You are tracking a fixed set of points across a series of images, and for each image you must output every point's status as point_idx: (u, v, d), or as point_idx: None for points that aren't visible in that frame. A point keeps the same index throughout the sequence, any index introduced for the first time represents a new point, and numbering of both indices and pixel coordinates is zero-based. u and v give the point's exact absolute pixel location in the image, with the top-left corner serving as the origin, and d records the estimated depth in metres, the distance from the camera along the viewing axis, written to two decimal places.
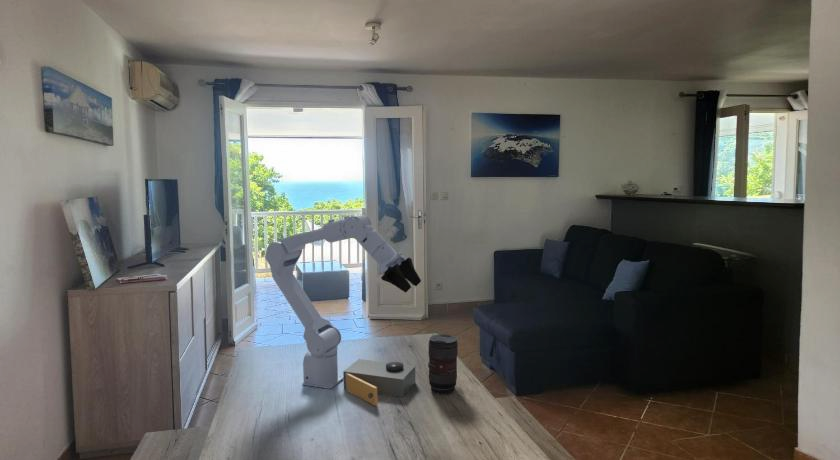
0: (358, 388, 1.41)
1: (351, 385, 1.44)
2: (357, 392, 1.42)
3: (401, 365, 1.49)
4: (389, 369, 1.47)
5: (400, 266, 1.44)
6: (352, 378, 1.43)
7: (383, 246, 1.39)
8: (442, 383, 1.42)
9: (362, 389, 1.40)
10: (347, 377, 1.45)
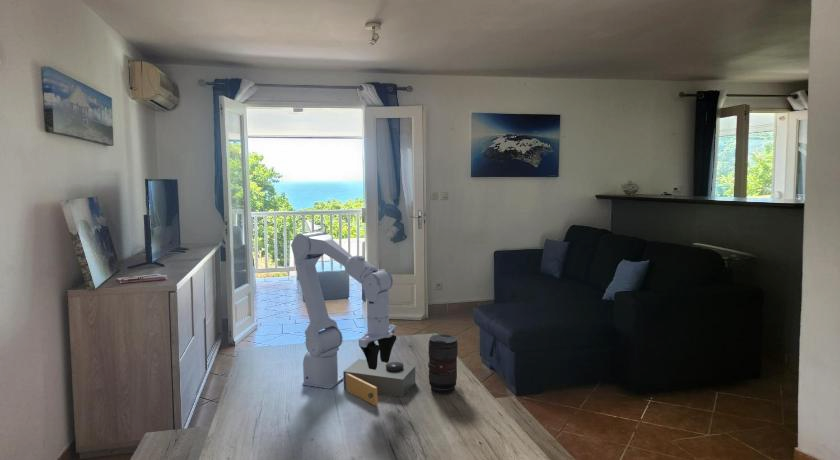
0: (358, 388, 1.41)
1: (351, 385, 1.44)
2: (357, 392, 1.42)
3: (401, 365, 1.49)
4: (389, 369, 1.47)
5: None
6: (352, 378, 1.43)
7: (381, 320, 1.36)
8: (442, 383, 1.42)
9: (362, 389, 1.40)
10: (347, 377, 1.45)
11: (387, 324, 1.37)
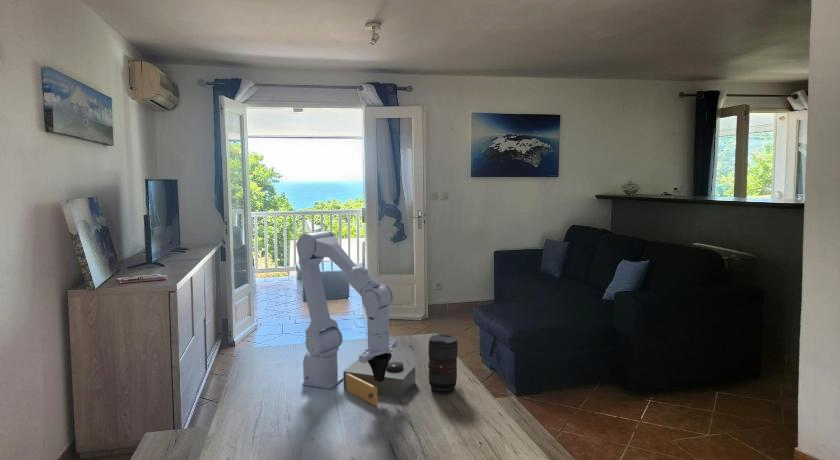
0: (358, 388, 1.41)
1: (351, 385, 1.44)
2: (357, 392, 1.42)
3: (401, 365, 1.49)
4: (389, 369, 1.47)
5: None
6: (352, 378, 1.43)
7: (381, 336, 1.36)
8: (442, 383, 1.42)
9: (362, 389, 1.40)
10: (347, 377, 1.45)
11: (387, 339, 1.38)
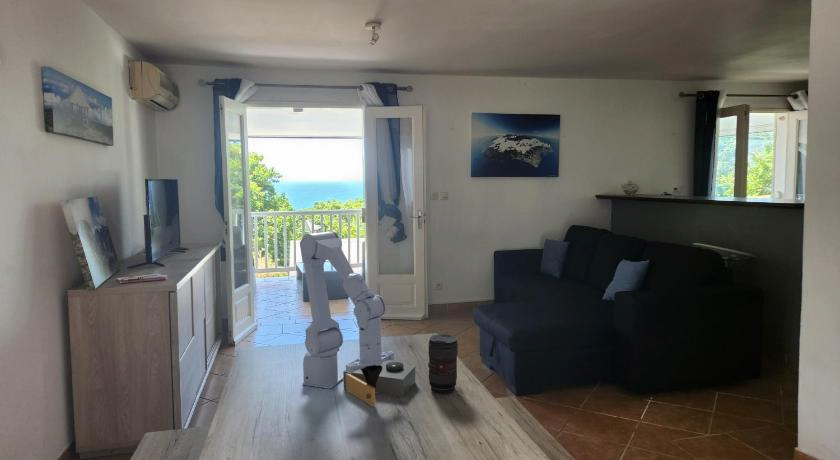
0: (357, 388, 1.41)
1: (351, 385, 1.44)
2: (356, 392, 1.42)
3: (401, 365, 1.49)
4: (389, 369, 1.47)
5: None
6: (351, 378, 1.43)
7: (370, 347, 1.34)
8: (442, 383, 1.42)
9: (361, 389, 1.40)
10: (347, 377, 1.45)
11: (378, 351, 1.35)
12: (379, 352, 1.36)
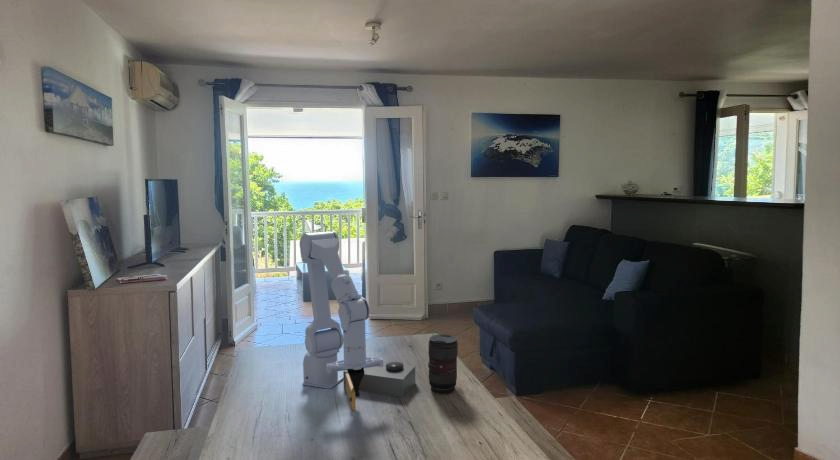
0: (348, 390, 1.40)
1: (346, 385, 1.43)
2: (348, 393, 1.41)
3: (401, 365, 1.49)
4: (389, 369, 1.47)
5: None
6: (347, 379, 1.43)
7: (349, 350, 1.32)
8: (442, 383, 1.42)
9: (349, 391, 1.39)
10: (345, 377, 1.45)
11: (358, 356, 1.32)
12: (360, 356, 1.33)
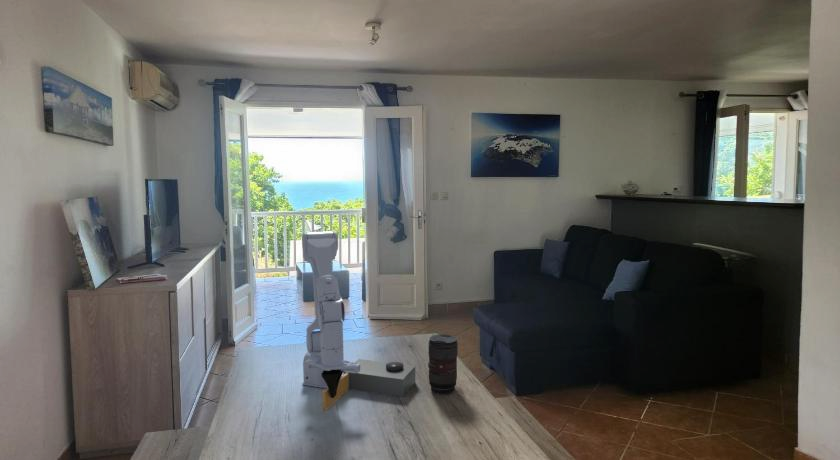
0: None
1: None
2: None
3: (401, 365, 1.49)
4: (389, 369, 1.47)
5: None
6: None
7: (322, 350, 1.33)
8: (442, 383, 1.42)
9: None
10: None
11: (329, 357, 1.32)
12: (331, 358, 1.32)
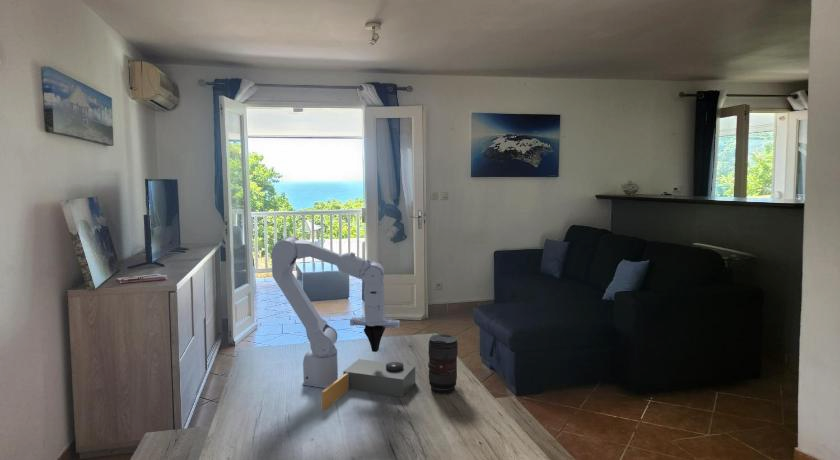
0: None
1: None
2: None
3: (401, 365, 1.49)
4: (389, 369, 1.47)
5: None
6: None
7: (366, 308, 1.48)
8: (442, 383, 1.42)
9: None
10: None
11: (372, 314, 1.47)
12: (374, 315, 1.47)
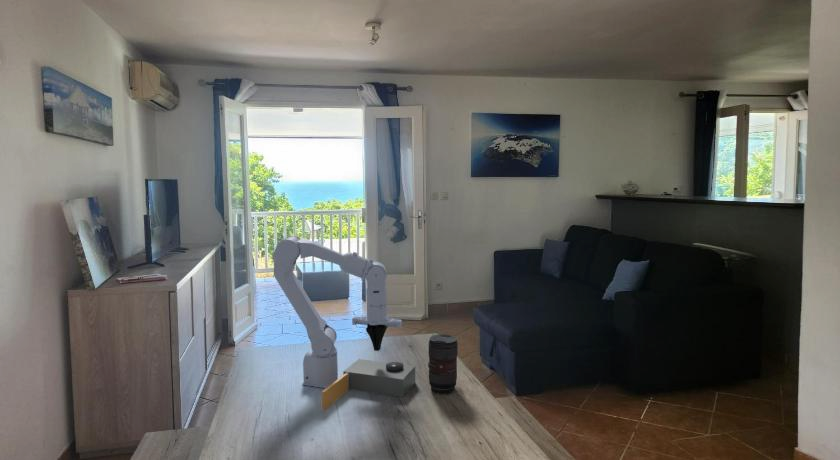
0: None
1: None
2: None
3: (401, 365, 1.49)
4: (389, 369, 1.47)
5: None
6: None
7: (368, 307, 1.49)
8: (442, 383, 1.42)
9: None
10: None
11: (374, 313, 1.48)
12: (376, 314, 1.48)
